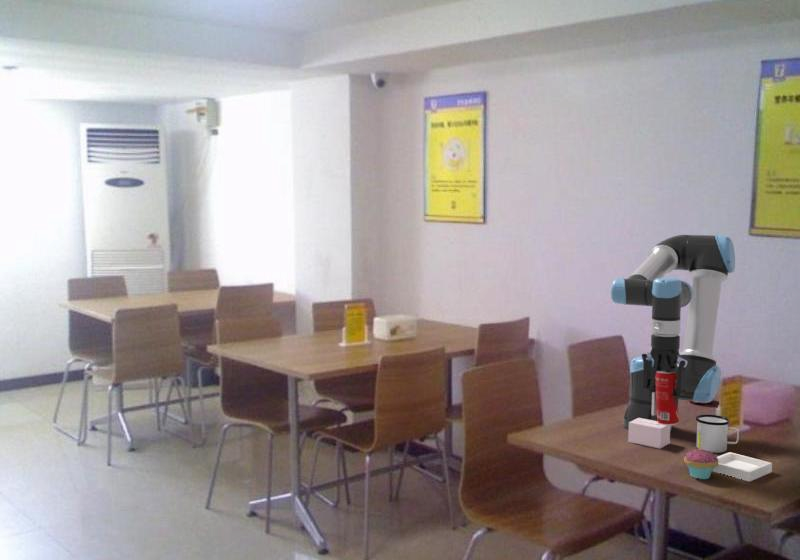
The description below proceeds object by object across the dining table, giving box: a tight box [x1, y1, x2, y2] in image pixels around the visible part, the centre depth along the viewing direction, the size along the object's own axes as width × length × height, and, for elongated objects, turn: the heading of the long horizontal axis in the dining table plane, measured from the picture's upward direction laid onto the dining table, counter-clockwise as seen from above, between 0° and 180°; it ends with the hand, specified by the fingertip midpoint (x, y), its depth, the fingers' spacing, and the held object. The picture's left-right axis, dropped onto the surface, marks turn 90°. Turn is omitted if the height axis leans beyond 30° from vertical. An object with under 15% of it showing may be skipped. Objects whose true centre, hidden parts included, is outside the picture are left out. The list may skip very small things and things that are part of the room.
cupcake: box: [683, 432, 718, 480], centre depth 211 cm, size 9×8×12 cm
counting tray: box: [712, 451, 773, 482], centre depth 215 cm, size 12×12×2 cm
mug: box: [695, 414, 740, 454], centre depth 234 cm, size 12×10×9 cm
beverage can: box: [655, 369, 680, 426], centre depth 221 cm, size 6×6×15 cm
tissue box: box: [627, 418, 671, 449], centre depth 240 cm, size 10×7×6 cm
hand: (663, 416), depth 223 cm, fingers closed on beverage can, 4 cm apart
